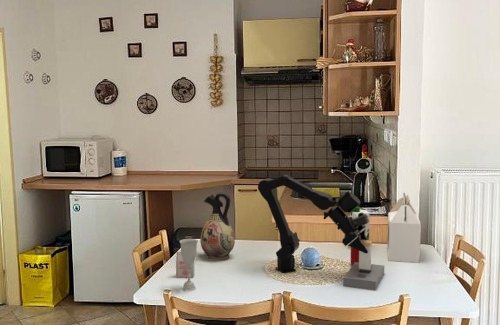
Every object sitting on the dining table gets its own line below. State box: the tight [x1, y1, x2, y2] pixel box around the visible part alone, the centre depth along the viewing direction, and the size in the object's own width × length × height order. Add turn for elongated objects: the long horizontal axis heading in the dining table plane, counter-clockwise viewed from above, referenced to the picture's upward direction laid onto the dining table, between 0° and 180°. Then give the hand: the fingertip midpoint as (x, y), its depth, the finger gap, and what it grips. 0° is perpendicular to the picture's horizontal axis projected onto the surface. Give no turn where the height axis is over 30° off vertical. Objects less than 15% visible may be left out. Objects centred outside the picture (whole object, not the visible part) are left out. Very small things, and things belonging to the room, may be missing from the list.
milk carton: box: [349, 205, 371, 240], centre depth 260 cm, size 9×9×20 cm
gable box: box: [386, 192, 422, 264], centre depth 248 cm, size 22×13×28 cm, turn 167°
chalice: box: [179, 238, 199, 292], centre depth 202 cm, size 7×7×18 cm
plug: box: [359, 239, 373, 270], centre depth 213 cm, size 4×4×11 cm
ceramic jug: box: [199, 191, 236, 261], centre depth 242 cm, size 17×15×30 cm
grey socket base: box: [342, 262, 385, 291], centre depth 213 cm, size 12×22×4 cm, turn 158°
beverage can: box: [350, 247, 359, 267], centre depth 232 cm, size 7×7×12 cm
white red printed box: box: [175, 251, 195, 279], centre depth 216 cm, size 4×7×10 cm, turn 88°
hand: (369, 250), depth 212 cm, fingers open, 7 cm apart
